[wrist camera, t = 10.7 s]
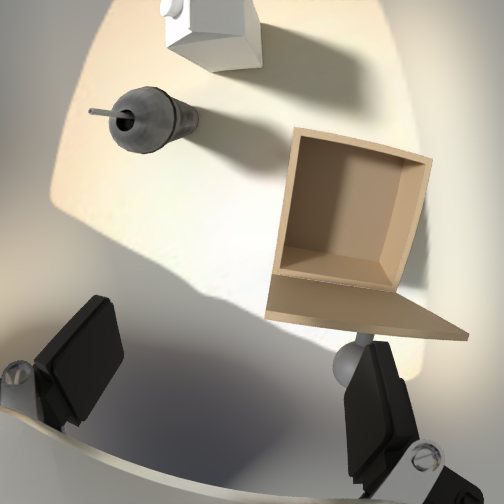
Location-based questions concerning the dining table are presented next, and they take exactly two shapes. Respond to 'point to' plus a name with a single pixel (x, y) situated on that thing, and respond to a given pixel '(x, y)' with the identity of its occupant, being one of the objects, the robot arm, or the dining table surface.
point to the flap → (353, 316)
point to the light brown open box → (349, 210)
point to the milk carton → (214, 33)
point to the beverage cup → (148, 120)
